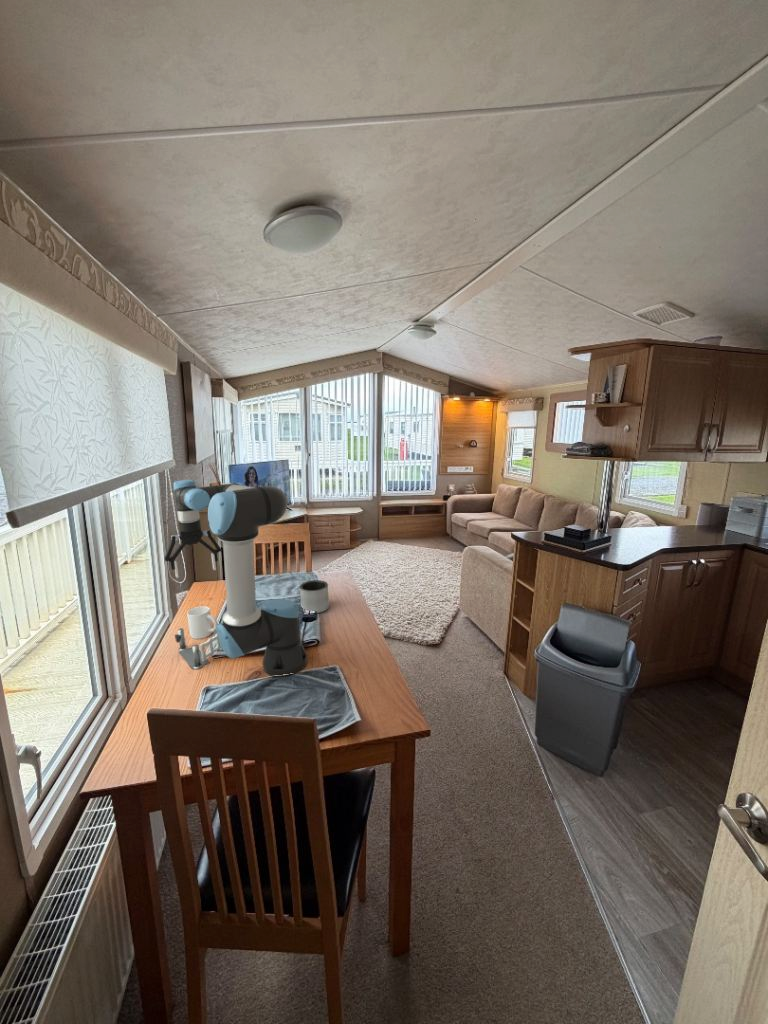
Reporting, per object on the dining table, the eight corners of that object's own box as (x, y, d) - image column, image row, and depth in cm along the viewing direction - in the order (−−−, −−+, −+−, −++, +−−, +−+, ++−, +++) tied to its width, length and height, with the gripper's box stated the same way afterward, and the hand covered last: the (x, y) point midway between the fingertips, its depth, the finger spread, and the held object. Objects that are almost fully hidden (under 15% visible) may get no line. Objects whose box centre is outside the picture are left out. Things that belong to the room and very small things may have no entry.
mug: (224, 631, 172) (221, 608, 169) (211, 641, 164) (208, 617, 162) (199, 628, 175) (196, 605, 172) (185, 638, 167) (182, 614, 165)
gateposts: (204, 666, 147) (201, 646, 146) (193, 671, 145) (190, 650, 143) (186, 645, 161) (183, 626, 160) (175, 649, 159) (172, 630, 157)
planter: (304, 616, 183) (302, 592, 180) (298, 605, 194) (297, 582, 192) (332, 611, 187) (331, 588, 185) (325, 600, 199) (324, 578, 196)
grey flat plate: (210, 662, 150) (210, 661, 150) (192, 669, 146) (192, 668, 146) (195, 646, 161) (195, 645, 161) (178, 652, 157) (178, 651, 157)
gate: (203, 661, 149) (201, 644, 148) (201, 661, 150) (199, 644, 148) (228, 644, 160) (226, 628, 158) (226, 644, 160) (224, 628, 159)
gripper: (221, 514, 170) (227, 564, 175) (151, 523, 157) (159, 577, 162) (225, 517, 164) (231, 568, 169) (153, 527, 151) (161, 583, 156)
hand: (196, 573), depth 165 cm, fingers open, 13 cm apart
